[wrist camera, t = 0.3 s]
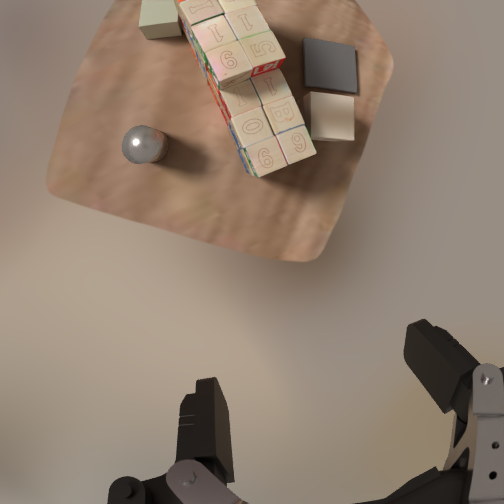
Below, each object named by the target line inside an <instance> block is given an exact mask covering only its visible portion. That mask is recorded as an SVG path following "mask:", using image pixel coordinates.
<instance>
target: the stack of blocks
mask: <svg viewBox="0 0 504 504" xmlns="http://www.w3.org/2000/svg"><path fill="white" fill-rule="evenodd" d="M174 3H175V7H176V10H177V11H178V14H179V17H180V20H181V21H180V23H181V25H182V28H183V31H184V33H185V35H186V37H187V39H188V41H189V44H190V47H191V49H192V52H193V54H194V56H195V58H196V60H197V62H198V65H199V67H200V69H201V71H202V74H203V76H204V78H205V80H206V82H207V84H208V85H209V86H210V89H211V91H212V93H213V95H214V97H215V100H216V102H217V104H218V106H219V107H220V110H221V112H222V114H223V116H224V119H225V121H226V123H227V125H228V130H229V133H230V135H231V137H232V140H233V142H234V144H235V146H236V149H237V150H238V152H239V155H240V157H241V159H242V162H243V164H244V166H245V168H246V171H247V173H249V174H250V175H252V176H256V177H258V178H259V177H261V176H264V175H266V174H268V173H271V172H273V171H276V170H278V169H281V168H283V167H286V166H287V165H289V164H292V163H294V162H297V161H300V160H302V159H305V158H307V157H310V156H313V155H315V154H316V150H315V147H314V145H313V142H312V140H311V138H310V135H309V133H308V130H307V128H306V127H305V122H304V120H303V117H302V115H301V113H300V110H299V108H298V106H297V104H296V102H295V99H294V97H293V96H292V92H291V90H290V88H289V86H288V84H287V82H286V80H285V78H284V76H283V74H282V72H281V70H280V69H279V67H280V66H281V65H282V63H283V62H284V60H285V59H286V56H285V54H284V52H283V50H282V48H281V46H280V45H279V43H278V41H277V39H276V37H275V35H274V33H273V32H272V31H271V30H270V28H269V26H268V24H267V22H266V21H265V19H264V17H263V16H262V14H261V12H260V10H259V9H258V7H257V3H256V2H255V0H174Z"/></svg>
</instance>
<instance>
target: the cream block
mask: <svg viewBox="0 0 504 504" xmlns="http://www.w3.org/2000/svg"><path fill="white" fill-rule="evenodd" d="M296 104H297V106H298V108H299V110H300V113H301V115H302V117H303V120H304V122H305V127H306V128H307V130H308V133H309V135H310V138H311V140H319V141H331V142H337V141H353V140H354V97H349V96H343V95H336V94H328V93H320V92H309V93H308V94H306V95H305V96H303V97H301V98H300V99H298V100H297V101H296Z"/></svg>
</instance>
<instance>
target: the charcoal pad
mask: <svg viewBox="0 0 504 504" xmlns="http://www.w3.org/2000/svg"><path fill="white" fill-rule="evenodd" d="M303 62H304V87H311V88H320V89H328V90H335V91H342V92H348V93H354V94H355V93H357V76H356V59H355V46H350V45H346V44H341V43H335V42H330V41H324V40H318V39H311V38H304V39H303Z"/></svg>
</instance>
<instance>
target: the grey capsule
mask: <svg viewBox="0 0 504 504" xmlns="http://www.w3.org/2000/svg"><path fill="white" fill-rule="evenodd" d="M168 148H169V142H168V139H167V137H166V135H165V134H164V133H162V132H161V131H158V130H156V129H153V128H150V127H148V126H143V125H140V126H136V127H133V128H132V129H130V130H129V131H128V132H127V133H126V134H125V136H124V138H123V141H122V151H123V154H124V156H125V157H126V158H127V159H128V160H129V161H130V162H133V163H136V164H141V163H150V162H156V161H159V160H161V159H162V158H163V157H164V156H165V155H166V153H167V151H168Z"/></svg>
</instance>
